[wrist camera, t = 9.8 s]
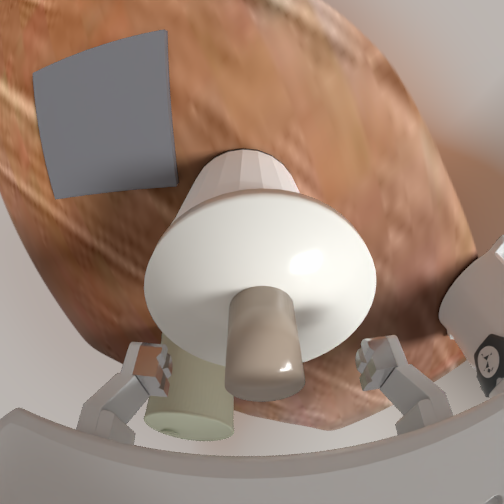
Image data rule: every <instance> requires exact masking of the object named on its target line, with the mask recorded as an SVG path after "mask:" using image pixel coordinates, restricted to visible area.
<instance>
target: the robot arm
mask: <svg viewBox="0 0 504 504" xmlns="http://www.w3.org/2000/svg"><path fill="white" fill-rule="evenodd" d="M439 320H440V322H441V324H442V325H443V326H444V327H445V328H446V329H447V334H448V336H449V337H450V339H454V340H455V341H456V343H457V344H458V346H459V348H460V349H461V351H462V352H463V354H464V355H465V357H466V358H467V360H468V361H469V363H470V365H471V366H472V367H473V368H474V369H476V370H477V378H478V381H479V383H480V385H481V386H480V387H481V389H482V391H483V392H484V394H485V396H486V397H489V398H490V399H489V400H487V401H485V402H483V403H481V404H479V405H477V406H474V407H472V408H470V409H468V410H466V411H464V412H461V413H459V414H457V415H454V416H453V413H452V410H451V408H450V404H449V402H448V399H447V396H446V394H445V392H444V391H443V390H442V389H440V388H439V387H438V386H437V385H436V384H434V383H433V382H432V381H431V380H430V379H429V378H427V377H426V376H425V375H424V374H422V373H421V372H420V371H419V370H418V369H416V368H415V367H414V366H413V365H411V364H410V365H408V362H407V360H406V357H405V355H404V352H403V350H402V347H401V345H400V342H399V340H398V338H397V336H396V335H390V336H381V337H374V338H367V339H364V340H362V342H361V348H360V349H359V350H358V351H357V353H356V359H355V361H356V367H357V370H358V371H359V372H360V373H361V376H360V378H359V379H360V383H361V386H362V390H363V391H367V390H373V389H379V388H380V390H381V391H382V392H383V394H384V395H385V396H386V397H387V398H388V399H389V400H390V401H391V402H392V403H393V404H394V405H395V407H396V408H397V409H398V410H399V411H400V412H401V413H402V414H403V415H404V416H403V417H402V418H401V419H400V420H399V421H398V422H397V423H396V424H395V426H396V430H397V434H398V435H397V436H394V437H390V438H387V439H382V440H378V441H374V442H370V443H365V444H361V445H356V446H350V447H345V448H340V449H334V450H327V451H320V452H311V453H302V454H291V455H278V456H277V455H276V456H215V455H200V454H188V453H180V452H171V451H165V450H158V449H151V448H146V447H141V446H136V445H134V440H135V433H134V431H132V429H130V428H129V427H128V426H127V425H126V424H127V423H128V422H129V420H130V419H131V418H132V417H133V416H134V415H135V413H136V412H137V411H138V410H139V409H140V407H141V406H142V405H143V404H144V403H145V402H146V400H147V399H148V398H149V396H159V397H168V393H169V387H170V383H169V381H168V378H169V377H170V376H171V375H172V370H173V362H172V358H171V355H170V354H168V353H167V351H168V348H167V346H166V344H154V343H143V342H131V343H130V345H129V347H128V350H127V354H126V357H125V360H124V363H123V367H122V370H121V373H117V374H116V375H115V376H114V377H113V378H112V379H110V380H109V381H108V382H107V383H106V384H105V385H104V386H103V387H102V388H101V389H99V390H98V391H97V392H96V393H95V394H94V395H93V396H92V397H91V398H89V399H88V400H87V401H86V402H85V403H84V404H83V407H82V410H81V414H80V417H79V421H78V425H77V428H76V430H75V429H72V428H69V427H66V426H63V425H61V424H58V423H55V422H53V421H50V420H48V419H45V418H43V417H40V416H38V415H36V414H33V413H31V412H29V411H27V410H25V409H22V408H16V409H14V410H12V411H11V412H10V413H8V414H7V415H5V416H4V417H3V418H1V419H0V504H504V235H502V236H501V237H499V239H498V240H497V241H496V242H495V243H494V244H493V246H492V247H491V248H490V249H489V251H487V252H486V253H485V254H483V255H482V256H481V257H479V258H478V259H477V260H475V261H474V262H473V263H472V264H471V265H469V266H468V267H467V268H466V269H465V270H464V271H463V272H462V273H461V275H460V276H459V277H458V278H457V279H456V280H455V282H454V283H453V284H452V286H451V287H450V289H449V290H448V292H447V293H446V295H445V297H444V299H443V301H442V303H441V306H440V309H439Z"/></svg>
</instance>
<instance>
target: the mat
mask: <svg viewBox="0 0 504 504" xmlns="http://www.w3.org/2000/svg"><path fill="white" fill-rule="evenodd" d="M33 85H34V96H35V105H36V113H37V120H38V126H39V132H40V138H41V143H42V148H43V153H44V157H45V162H46V166H47V170H48V174H49V178H50V182H51V186H52V189H53V193H54V196H55V199H62V198H68V197H75V196H83V195H90V194H99V193H107V192H116V191H126V190H136V189H148V188H160V187H175V186H177V185H178V183H179V180H178V172H177V164H176V155H175V145H174V135H173V124H172V113H171V99H170V84H169V65H168V35H167V31H166V30H159V31H154V32H149V33H144V34H140V35H136V36H132V37H128V38H124V39H120V40H117V41H113V42H110V43H107V44H103V45H100V46H97V47H94V48H91V49H88V50H86V51H83V52H80V53H78V54H75V55H72V56H70V57H67V58H65V59H63V60H60V61H58V62H56V63H53V64H51V65H49V66H47V67H45V68H42V69H40V70H38V71H36V72H34V73H33Z"/></svg>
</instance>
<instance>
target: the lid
mask: <svg viewBox="0 0 504 504" xmlns="http://www.w3.org/2000/svg"><path fill="white" fill-rule="evenodd" d="M375 289H376V271H375V267H374V263H373V259H372V257H371V255H370V253H369V251H368V249H367V247H366V245H365V243H364V241H363V240H362V238H361V236H360V235H359V233H358V232H357V231H356V229H355V228H354V226H353V225H352V224H351V223H350V222H349V221H348V220H347V219H346V218H345V217H344V216H343V215H342V214H340V213H339V212H338V211H336V210H335V209H333V208H332V207H331V206H329V205H327V204H325V203H323V202H321V201H319V200H317V199H315V198H312V197H309V196H306V195H303V194H300V193H297V192H291V191H286V190H281V189H263V188H259V189H247V190H239V191H234V192H230V193H225V194H222V195H219V196H216V197H213V198H210V199H208V200H205V201H204V202H202V203H200V204H198V205H196V206H194V207H192V208H191V209H189V210H188V211H186V212H185V213H184V214H182V215H181V216H180V217H178V218H177V219H176V220H175V221H174V222H173V223H172V224H171V225H170V226H169V227H168V228H167V230H166V231H165V232H164V234H163V235H162V237H161V238H160V239H159V241H158V244H157V246H156V248H155V250H154V252H153V254H152V256H151V258H150V261H149V263H148V266H147V270H146V273H145V280H144V293H145V300H146V303H147V307H148V310H149V312H150V314H151V316H152V318H153V320H154V321H155V323H156V324H157V326H158V327H159V328H160V330H161V331H162V332H163V333H164V334H165V335H166V336H167V337H168V338H169V339H170V340H171V341H172V342H173V343H175V344H176V345H178V346H179V347H180V348H182V349H183V350H185V351H187V352H188V353H190V354H192V355H194V356H196V357H198V358H201V359H203V360H206V361H208V362H211V363H214V364H218V365H222V366H225V389H226V390H227V391H228V392H229V393H230V394H231V395H233V396H235V397H237V398H240V399H244V400H248V401H258V402H265V401H275V400H280V399H284V398H287V397H290V396H292V395H294V394H296V393H297V392H299V391H300V390H301V389H302V388H303V387H304V385H305V376H304V369H303V362H306V361H309V360H311V359H314V358H316V357H318V356H320V355H322V354H324V353H326V352H328V351H330V350H331V349H333V348H335V347H336V346H338V345H339V344H340V343H342V342H343V341H344V340H346V339H347V338H348V337H349V336H350V335H351V334H352V333H353V332H354V331H355V330H356V329H357V328H358V326H359V325H360V324H361V323H362V321H363V320H364V318H365V317H366V315H367V314H368V311H369V309H370V307H371V305H372V302H373V299H374V295H375Z"/></svg>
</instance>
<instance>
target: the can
mask: <svg viewBox="0 0 504 504" xmlns="http://www.w3.org/2000/svg"><path fill="white" fill-rule="evenodd" d="M161 344H166V346H167V348H168V351H167V353H168V354H170V355H171V358H172V362H173V370H172V375H171V376H170V377H169V378H168V381H169V383H170V387H169V393H168V397H159V396H149V400H148V404H147V409H146V413H145V416H144V421H145V423H146V424H147V425H148V426H150V427H151V428H153V429H154V430H156V431H158V432H161V433H163V434H166V435H169V436H173V437H177V438H181V439H187V440H196V441H215V440H221V439H226V438H229V437H230V436H232V435H233V434H234V425H233V406H234V396H233V395H231V394H230V393H229V392H228V391H227V390H226V389H225V366H222V365H218V364H214V363H211V362H208V361H206V360H203V359H201V358H198V357H196V356H194V355H192V354H190V353H188V352H187V351H185V350H183V349H182V348H180V347H179V346H178V345H176V344H175V343H173V342H172V341H171V340H170V339H169V338H168V337H167V336H166V335H165V334H164V333H163V332H162V340H161Z"/></svg>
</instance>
